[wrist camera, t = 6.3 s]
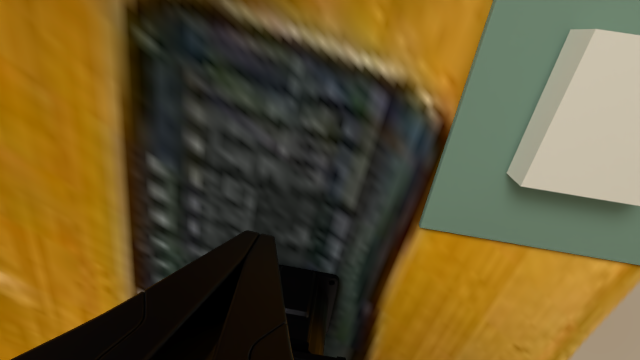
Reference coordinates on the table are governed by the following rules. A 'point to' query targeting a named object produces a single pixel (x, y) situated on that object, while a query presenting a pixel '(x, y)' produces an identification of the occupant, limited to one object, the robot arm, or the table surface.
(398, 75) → the table surface
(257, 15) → the table surface
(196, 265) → the robot arm
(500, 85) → the mat
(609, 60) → the block
